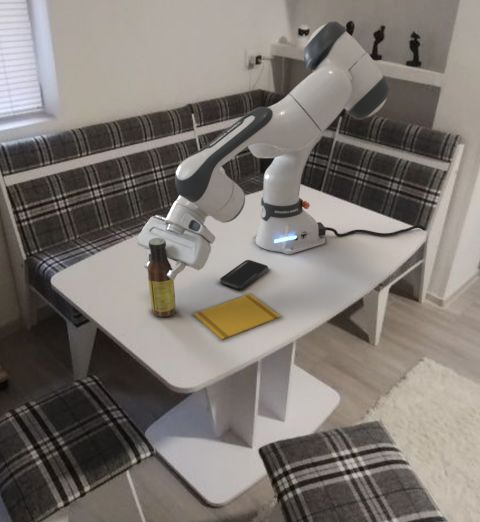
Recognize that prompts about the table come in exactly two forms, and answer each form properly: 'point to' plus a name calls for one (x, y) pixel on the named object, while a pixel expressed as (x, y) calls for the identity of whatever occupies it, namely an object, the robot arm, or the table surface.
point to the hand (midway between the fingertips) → (158, 273)
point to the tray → (236, 316)
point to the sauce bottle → (160, 280)
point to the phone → (244, 275)
